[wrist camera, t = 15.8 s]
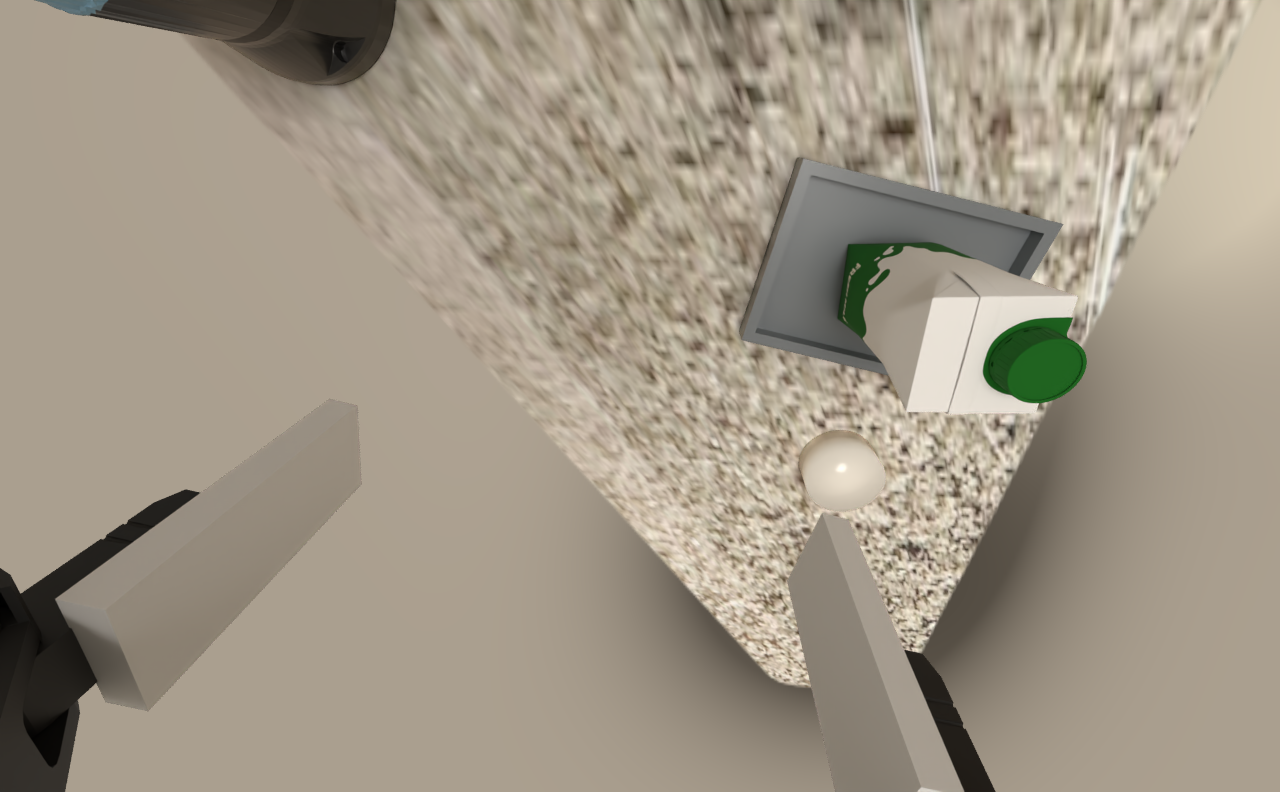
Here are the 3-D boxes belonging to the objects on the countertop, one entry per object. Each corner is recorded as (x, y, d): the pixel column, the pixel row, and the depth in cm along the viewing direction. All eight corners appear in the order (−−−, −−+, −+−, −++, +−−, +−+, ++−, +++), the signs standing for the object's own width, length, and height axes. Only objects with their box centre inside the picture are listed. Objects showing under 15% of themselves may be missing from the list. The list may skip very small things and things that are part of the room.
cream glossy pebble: (788, 480, 58) (795, 502, 54) (814, 422, 54) (823, 442, 50) (854, 495, 58) (865, 518, 54) (885, 438, 54) (899, 459, 51)
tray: (739, 331, 50) (741, 339, 47) (797, 157, 42) (803, 158, 40) (949, 381, 50) (962, 392, 48) (1043, 219, 43) (1063, 224, 41)
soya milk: (922, 326, 47) (1064, 440, 29) (824, 327, 48) (904, 438, 30) (945, 230, 43) (1124, 294, 25) (837, 233, 44) (938, 297, 26)
